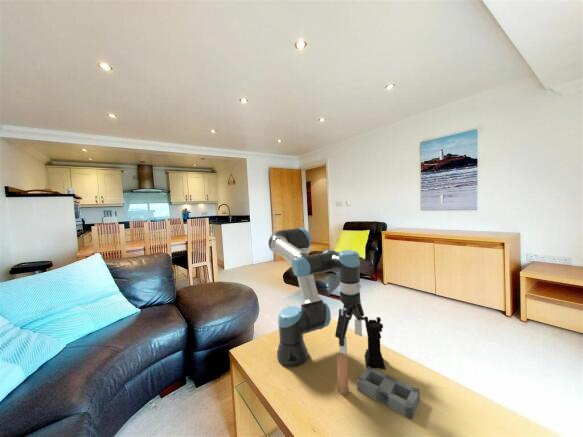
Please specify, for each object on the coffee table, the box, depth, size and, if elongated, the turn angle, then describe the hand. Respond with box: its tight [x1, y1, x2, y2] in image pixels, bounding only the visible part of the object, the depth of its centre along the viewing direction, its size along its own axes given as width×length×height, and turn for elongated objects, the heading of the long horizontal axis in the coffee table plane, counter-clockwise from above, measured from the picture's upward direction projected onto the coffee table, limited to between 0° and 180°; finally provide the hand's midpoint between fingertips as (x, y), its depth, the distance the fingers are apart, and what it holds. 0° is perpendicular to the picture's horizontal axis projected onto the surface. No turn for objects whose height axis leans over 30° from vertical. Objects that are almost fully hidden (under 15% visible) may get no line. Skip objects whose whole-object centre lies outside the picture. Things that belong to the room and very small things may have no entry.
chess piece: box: [363, 316, 386, 370], centre depth 107 cm, size 8×8×20 cm
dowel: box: [336, 353, 349, 396], centre depth 92 cm, size 4×4×14 cm
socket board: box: [356, 366, 421, 420], centre depth 90 cm, size 20×10×4 cm, turn 48°
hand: (351, 343), depth 92 cm, fingers open, 13 cm apart
